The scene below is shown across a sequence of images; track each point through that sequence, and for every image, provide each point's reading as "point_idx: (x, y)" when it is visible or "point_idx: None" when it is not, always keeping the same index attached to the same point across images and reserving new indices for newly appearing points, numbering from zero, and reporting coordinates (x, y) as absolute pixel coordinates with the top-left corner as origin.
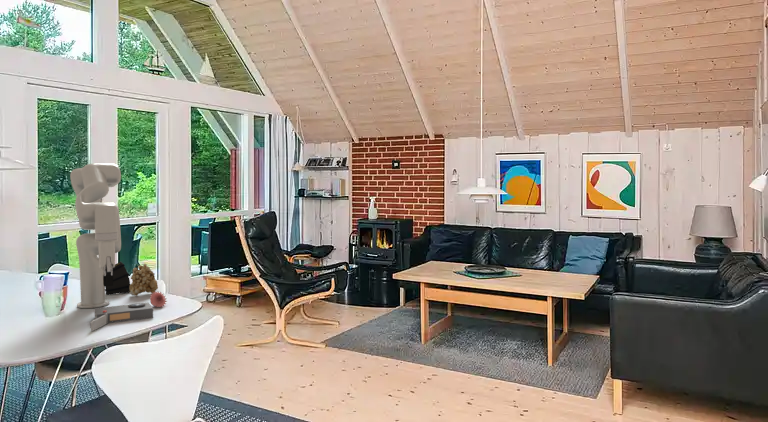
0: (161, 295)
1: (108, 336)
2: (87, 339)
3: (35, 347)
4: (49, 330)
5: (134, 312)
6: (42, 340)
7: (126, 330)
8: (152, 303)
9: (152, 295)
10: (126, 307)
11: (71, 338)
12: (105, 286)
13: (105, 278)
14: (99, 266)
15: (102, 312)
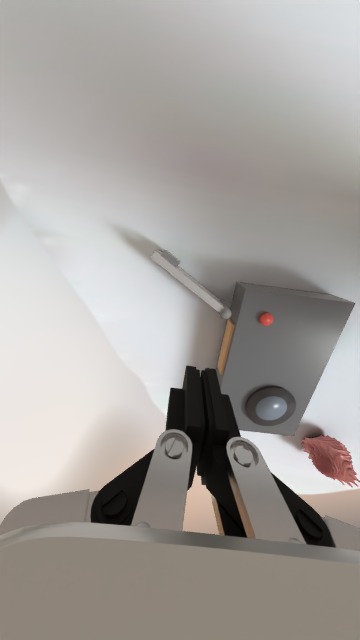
0: (327, 475)
1: (73, 279)
2: (67, 221)
3: (38, 18)
4: (275, 119)
5: (219, 384)
6: (134, 66)
7: (114, 330)
8: (316, 439)
9: (341, 462)
10: (276, 381)
11: (105, 177)
12: (185, 371)
13: (183, 416)
14: (208, 565)
15: (264, 311)
